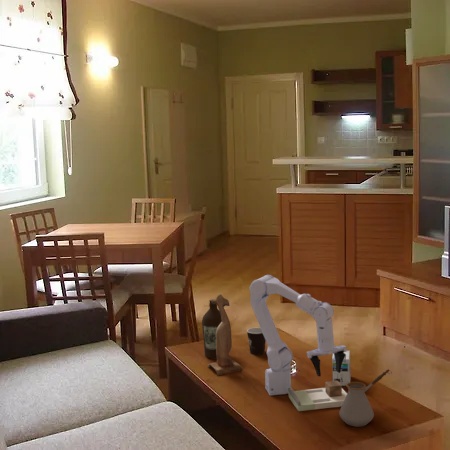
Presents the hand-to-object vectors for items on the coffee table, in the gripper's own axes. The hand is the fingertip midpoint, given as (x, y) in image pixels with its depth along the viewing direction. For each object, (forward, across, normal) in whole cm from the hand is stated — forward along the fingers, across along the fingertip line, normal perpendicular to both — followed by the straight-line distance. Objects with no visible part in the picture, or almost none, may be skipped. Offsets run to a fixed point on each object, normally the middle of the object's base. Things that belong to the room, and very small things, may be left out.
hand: (328, 373), depth 244 cm
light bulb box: (+10, +11, +15) cm, 21 cm away
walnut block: (+8, +1, 0) cm, 8 cm away
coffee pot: (+11, +6, -18) cm, 22 cm away
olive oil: (+6, -29, +61) cm, 68 cm away
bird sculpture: (+6, -29, +43) cm, 52 cm away
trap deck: (+10, -4, 0) cm, 10 cm away
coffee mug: (+6, -10, +60) cm, 61 cm away
